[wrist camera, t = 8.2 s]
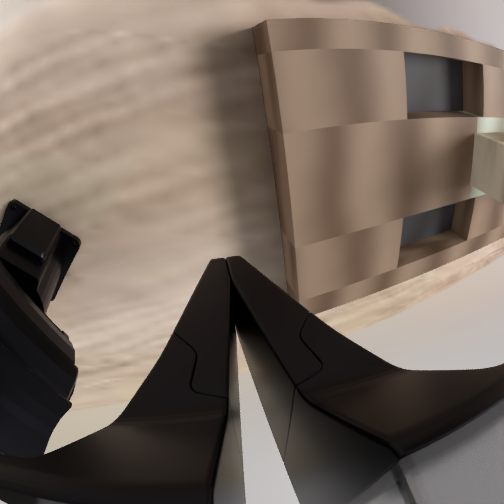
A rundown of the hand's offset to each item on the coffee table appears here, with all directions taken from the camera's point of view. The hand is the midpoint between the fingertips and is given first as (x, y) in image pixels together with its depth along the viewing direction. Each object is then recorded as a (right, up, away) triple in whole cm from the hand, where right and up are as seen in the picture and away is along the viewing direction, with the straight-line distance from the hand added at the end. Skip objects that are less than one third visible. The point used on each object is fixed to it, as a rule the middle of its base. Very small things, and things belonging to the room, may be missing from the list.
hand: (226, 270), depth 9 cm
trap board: (+16, +9, +15) cm, 24 cm away
